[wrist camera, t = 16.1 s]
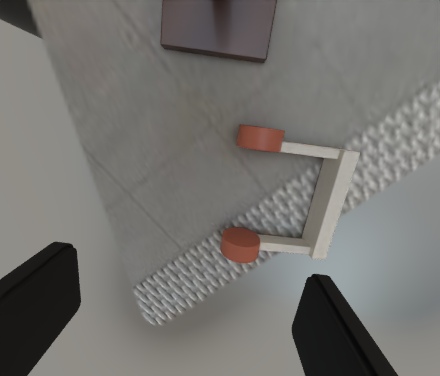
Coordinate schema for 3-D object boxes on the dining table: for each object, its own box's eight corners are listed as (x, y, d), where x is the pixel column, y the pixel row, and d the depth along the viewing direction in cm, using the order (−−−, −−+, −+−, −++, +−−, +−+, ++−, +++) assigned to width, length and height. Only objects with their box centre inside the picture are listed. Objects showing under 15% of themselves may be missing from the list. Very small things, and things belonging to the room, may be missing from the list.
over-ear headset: (221, 261, 22) (325, 271, 23) (242, 124, 18) (368, 142, 19) (219, 239, 26) (308, 248, 27) (237, 124, 22) (340, 138, 23)
